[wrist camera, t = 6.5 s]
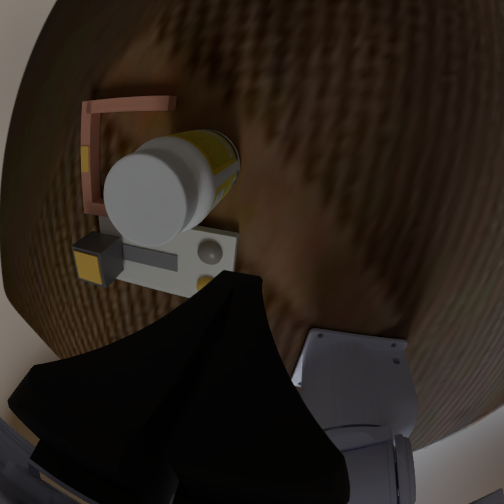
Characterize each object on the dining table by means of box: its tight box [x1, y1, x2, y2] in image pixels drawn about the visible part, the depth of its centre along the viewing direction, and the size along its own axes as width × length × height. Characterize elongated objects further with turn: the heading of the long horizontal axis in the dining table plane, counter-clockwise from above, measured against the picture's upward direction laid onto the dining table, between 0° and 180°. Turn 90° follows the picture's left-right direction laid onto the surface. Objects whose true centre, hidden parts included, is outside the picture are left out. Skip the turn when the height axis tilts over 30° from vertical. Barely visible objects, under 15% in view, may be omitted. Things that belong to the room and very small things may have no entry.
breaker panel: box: [99, 216, 239, 298], centre depth 21 cm, size 12×6×1 cm, turn 83°
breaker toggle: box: [72, 231, 124, 288], centre depth 19 cm, size 3×3×3 cm
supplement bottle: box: [104, 129, 240, 246], centre depth 14 cm, size 5×5×8 cm
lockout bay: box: [81, 96, 177, 217], centre depth 18 cm, size 8×9×1 cm
